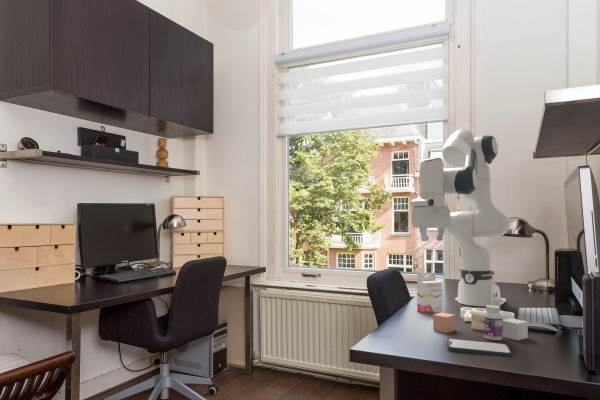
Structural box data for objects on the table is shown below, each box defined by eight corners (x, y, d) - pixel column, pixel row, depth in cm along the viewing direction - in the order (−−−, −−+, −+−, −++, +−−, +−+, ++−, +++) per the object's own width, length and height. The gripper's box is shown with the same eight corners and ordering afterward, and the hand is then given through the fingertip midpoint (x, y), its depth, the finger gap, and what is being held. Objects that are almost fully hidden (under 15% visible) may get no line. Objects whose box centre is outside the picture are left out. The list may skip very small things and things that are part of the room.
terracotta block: (441, 327, 145) (441, 312, 145) (455, 330, 141) (455, 314, 141) (433, 330, 142) (433, 314, 142) (447, 333, 138) (447, 317, 138)
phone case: (507, 349, 123) (447, 343, 127) (507, 343, 123) (447, 338, 127) (512, 359, 114) (448, 353, 119) (512, 353, 114) (448, 347, 119)
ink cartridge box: (424, 313, 165) (423, 274, 166) (416, 311, 170) (416, 273, 170) (443, 312, 168) (442, 273, 168) (435, 309, 172) (435, 272, 173)
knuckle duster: (454, 322, 154) (464, 314, 166) (510, 329, 144) (517, 320, 156) (454, 312, 154) (464, 305, 166) (510, 319, 144) (516, 311, 156)
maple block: (474, 325, 147) (474, 310, 147) (490, 327, 144) (490, 312, 144) (471, 329, 143) (471, 313, 143) (487, 331, 140) (487, 315, 140)
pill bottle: (479, 336, 133) (479, 305, 134) (493, 335, 135) (492, 303, 135) (493, 341, 128) (492, 308, 128) (507, 339, 130) (506, 307, 130)
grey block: (512, 334, 136) (511, 318, 136) (527, 338, 132) (527, 321, 132) (502, 336, 133) (502, 320, 134) (518, 340, 129) (517, 323, 129)
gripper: (440, 203, 165) (440, 240, 165) (408, 201, 152) (408, 241, 151) (455, 203, 161) (455, 240, 160) (423, 200, 147) (424, 241, 147)
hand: (432, 240), depth 155 cm, fingers open, 8 cm apart
